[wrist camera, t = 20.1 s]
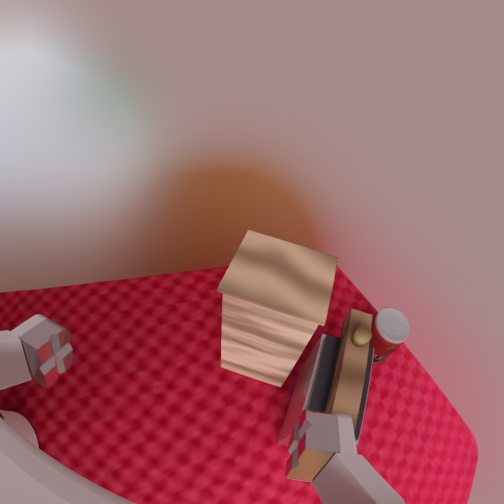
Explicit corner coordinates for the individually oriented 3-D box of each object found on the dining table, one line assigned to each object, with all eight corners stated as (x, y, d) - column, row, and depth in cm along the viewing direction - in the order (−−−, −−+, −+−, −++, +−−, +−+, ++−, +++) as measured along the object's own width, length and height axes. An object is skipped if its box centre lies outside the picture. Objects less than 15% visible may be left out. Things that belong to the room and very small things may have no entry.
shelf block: (282, 390, 50) (325, 323, 32) (217, 368, 53) (217, 288, 34) (296, 342, 58) (337, 257, 39) (237, 323, 60) (248, 229, 41)
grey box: (323, 454, 42) (360, 443, 30) (276, 443, 43) (297, 430, 32) (341, 380, 53) (376, 345, 41) (299, 368, 54) (324, 330, 42)
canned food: (371, 372, 54) (396, 349, 46) (347, 345, 58) (368, 319, 50) (391, 352, 57) (416, 327, 49) (369, 328, 62) (390, 300, 54)
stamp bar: (336, 461, 28) (354, 458, 24) (311, 457, 29) (325, 453, 25) (363, 326, 43) (377, 307, 39) (343, 320, 44) (356, 301, 40)
